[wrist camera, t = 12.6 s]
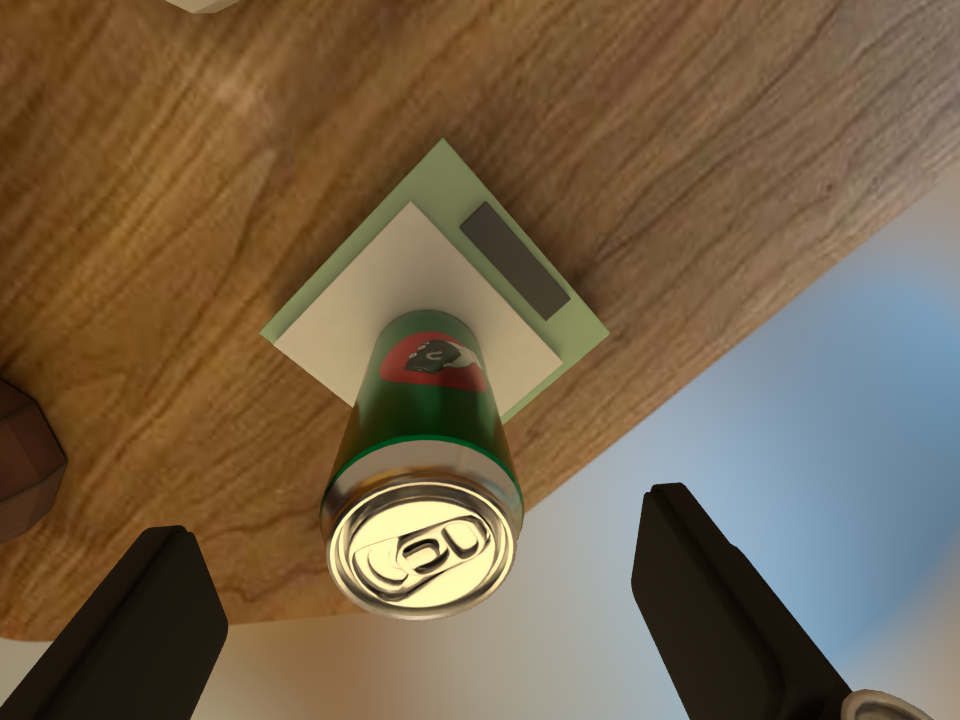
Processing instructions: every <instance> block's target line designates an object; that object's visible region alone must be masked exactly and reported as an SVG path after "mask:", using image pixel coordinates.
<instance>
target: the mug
mask: <svg viewBox="0 0 960 720" xmlns="http://www.w3.org/2000/svg"><path fill="white" fill-rule="evenodd" d="M66 464H67V461H66V459H65V457H64V456H63V454H62V452H61V450H60V448H59V446H58V444H57V442H56V441H55V439H54V437H53V435H52V433H51V431H50V429H49V428H48V426H47V424H46V422H45V420H44V418H43V416H42V414H41V413H40V411H39V409H38V407H37V405H36V403H35V401H33V400H31V399H30V398H28V397H27V396H25V395H24V394H22V393H20V392H19V391H17V390H16V389H14V388H13V387H11V386H9V385H8V384H6V383H5V382H3V381H2V380H0V544H3V543H5V542H7V541H9V540H11V539H13V538H15V537H18V536H20V535H22V534H24V533H25V532H26V531H27V530H29V529H30V528H31V527H32V526H33V525H34V524H35V523H36V522H38V521H39V520H40V519H41V518H42V517H43V516H44V515H45V514H47V513H48V512H49V511H50V508H51V505H52V502H53V499H54V497H55V494H56V491H57V488H58V486H59V483H60V480H61V477H62V475H63V472H64V469H65V466H66Z"/></svg>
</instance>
